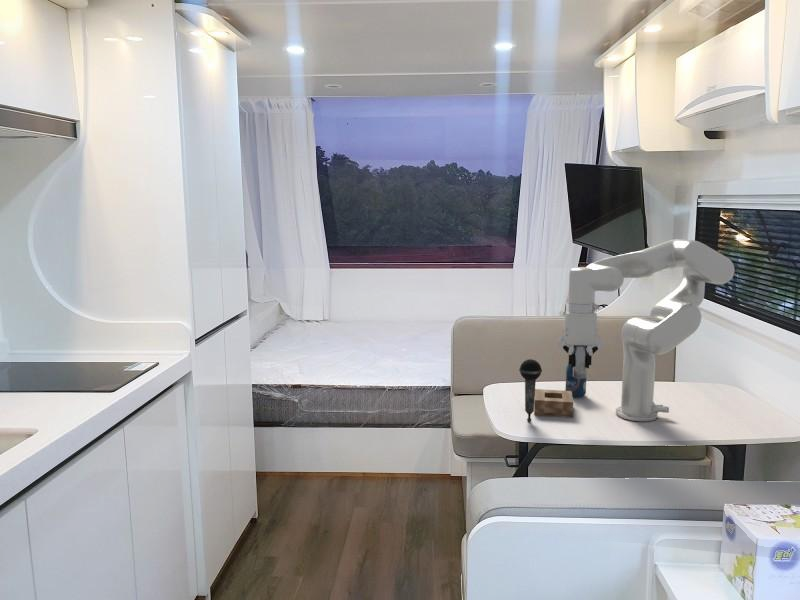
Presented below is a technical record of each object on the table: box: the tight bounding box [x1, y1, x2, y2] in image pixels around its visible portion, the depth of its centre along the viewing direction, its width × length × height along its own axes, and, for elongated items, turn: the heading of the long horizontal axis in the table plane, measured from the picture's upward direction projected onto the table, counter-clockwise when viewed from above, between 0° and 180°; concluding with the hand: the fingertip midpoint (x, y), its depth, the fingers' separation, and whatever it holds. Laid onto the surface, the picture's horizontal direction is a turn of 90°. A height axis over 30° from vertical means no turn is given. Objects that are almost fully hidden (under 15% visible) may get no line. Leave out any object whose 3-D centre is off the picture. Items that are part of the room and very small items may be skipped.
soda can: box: [564, 361, 588, 399], centre depth 223 cm, size 7×7×12 cm
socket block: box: [533, 388, 574, 418], centre depth 209 cm, size 12×12×5 cm
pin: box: [573, 345, 588, 379], centre depth 195 cm, size 4×4×10 cm
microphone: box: [518, 358, 543, 423], centre depth 197 cm, size 7×7×20 cm
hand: (579, 366), depth 195 cm, fingers closed on pin, 4 cm apart
